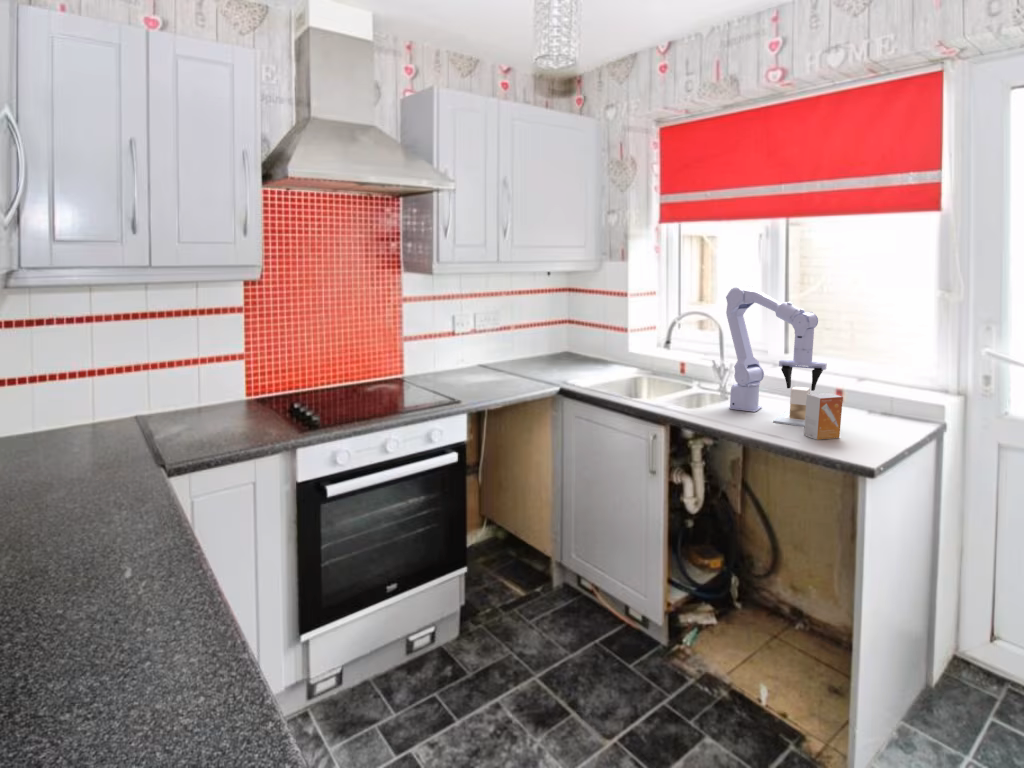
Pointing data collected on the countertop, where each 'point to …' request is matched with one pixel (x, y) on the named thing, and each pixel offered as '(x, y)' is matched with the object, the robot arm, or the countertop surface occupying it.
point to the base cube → (797, 411)
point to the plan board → (789, 420)
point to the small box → (823, 416)
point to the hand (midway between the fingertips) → (800, 389)
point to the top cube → (799, 395)
